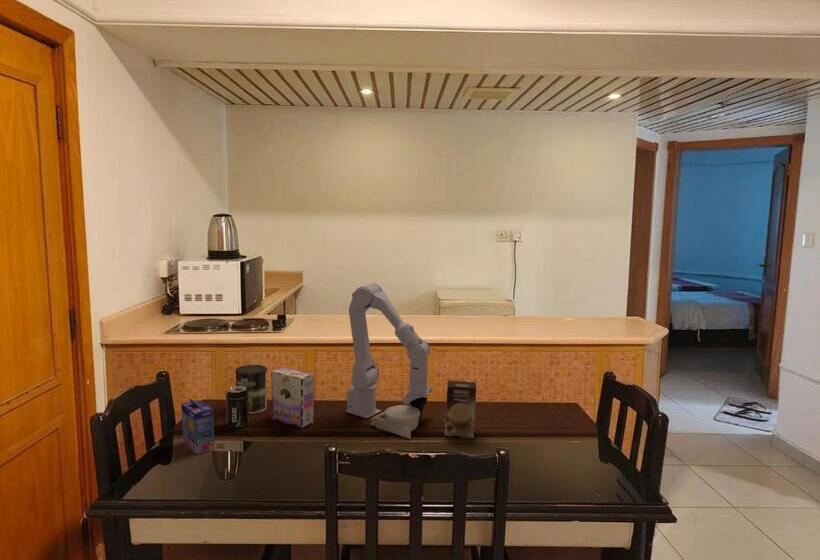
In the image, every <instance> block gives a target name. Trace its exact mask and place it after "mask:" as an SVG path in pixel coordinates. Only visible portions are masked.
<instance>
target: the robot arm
mask: <svg viewBox="0 0 820 560" xmlns="http://www.w3.org/2000/svg"><path fill="white" fill-rule="evenodd" d="M351 295H352V297H351V302H350V304H349V308H348V316H349V323H350V330H351V337H352V344H353V352H354V358H355V361H354V363H353V364H354V365H353V366H352V369H351V370H352V374H351V375H352V376H351V378H350V379H351V383H352V385H351V386H349V388H348V391H347V396H346V397H347V399H346V402H347V404H346V405H347V406H346V407H347V409H346V410H345V412H346V413H348V414H352V415H353V416H354V415H355V416H358V417H360V418H365V419H368V418H370V417H371V418H372V416H373V417H374V416H376V415H378V414H380V412H381V413H382V410H381V409H378V408H376V405H377V404H376V401H377V399H376V398H377V385H376V384H377V381H378V380H379V378H380V371H379V369H378V368H377V364H376V361H375V360H374V359H373V358H372V352H371V346H370V345H371V344H370V338H369V337H370V336H369V331H368V324H367V323H368V322H367V316H366V314H367V311H368V310H369V309H370V308H371V309H374V310H378V311H380V312H381V314H383V316H384V317H385V318H386V320H387V321H388V322H389V323H390V324H391V325H392V327H393V328H394V335H395V336H396V338H398V340H399V342H400V343H401V344H402V345H403V347H404V348H405V350H407V353H406V355H407V358H408V360H409V388H408V389H409V390H408V392H407V393H406V394H405V395H404V396H403V397H402V404H403V405H404V404H405V405H409V404H410V406H412V407H415V408H417V409H419V411H420V416H419V420H418V421H420V420H421V419H422V418H423V417H422V416H423V410H424V408H425V405H426V404H427V402H428V397H429V396H430V394H432V393H433V386H431V385H428V356H429V355H431V348H430V345H429V343H428V342H427V341H426V340H423V338H422V337H420V336H419V335H418V333H417V332H416V331H415V327H414V325H412V324H410V323H408V322H404V321H403V319H402V318H401V316H400V314H399V313H398V312H397V310H396V308H395V307H394V305H392V302H391V301H390V300H389V298H388V296H387V293H386V291H384V290H383V289H382V287H381V286H380V284H378V283H370V284H368V285H363V286H359V287H357V289H356V290H354V291H353V292H352V293H351Z"/></svg>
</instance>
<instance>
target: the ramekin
mask: <svg viewBox="0 0 820 560" xmlns="http://www.w3.org/2000/svg"><path fill="white" fill-rule="evenodd" d="M385 416H386V420H388V421H391V422H395V423H398V424H401V425H405V426H408V427H411V432H413V431H414V430H416V429H417V427H418V424H419V421H420V420H419V416H420V411H419V409H417V408H415V407H412V405H407V404H405V405H404V404H403V405H398V404H397V405H394V406H390V407H388V408H386V409H385ZM412 430H413V431H412Z"/></svg>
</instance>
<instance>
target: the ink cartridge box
mask: <svg viewBox="0 0 820 560" xmlns="http://www.w3.org/2000/svg"><path fill="white" fill-rule="evenodd" d="M188 400H189V401H187V402H186V401H185V402H182V403H181V404H180V405H181V420H182V421H181V422H182V423H181V424H182V441H183V444H184V445H185V446H186V447H188V449H190V450H191V451H192V452H193V453H194V454H196V455H199V454H201V453H205V452H208V451H211V450H215V435H214V418H213V417H214V416H213V408H212V407H210V406H209V405H207V404H205V403H204V402H203V401H201V400H200V399H195V400H193V399H191V398H190V397H188Z"/></svg>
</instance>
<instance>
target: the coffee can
mask: <svg viewBox="0 0 820 560" xmlns="http://www.w3.org/2000/svg"><path fill="white" fill-rule="evenodd" d="M267 371H268V369H267V366H265V365H261V364H246V365H241V366H238V367H236V369H235V386H244V387H246V390H247V391H248V394H249V415H254V414H258V413H262V412H264V411H266V410H267V408H268V407H267V401H268V400H267V398H268V397H267V396H268V395H267V393H268V392H267V390H268V389H267Z"/></svg>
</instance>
